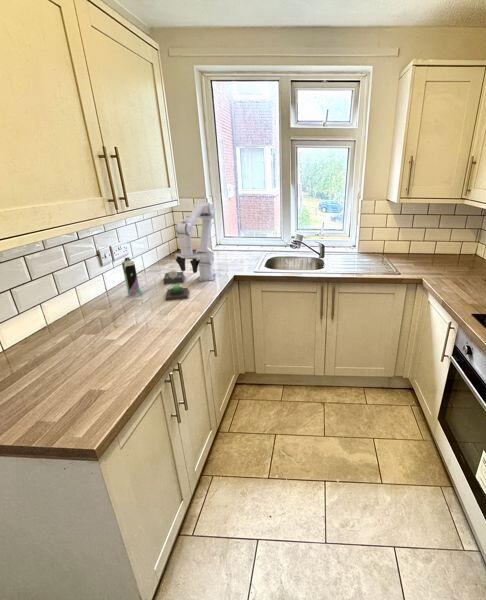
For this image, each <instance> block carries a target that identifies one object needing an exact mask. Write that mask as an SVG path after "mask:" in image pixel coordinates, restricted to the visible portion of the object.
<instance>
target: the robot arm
mask: <svg viewBox="0 0 486 600" xmlns="http://www.w3.org/2000/svg"><path fill="white" fill-rule="evenodd" d="M214 216H215V205H214V204H213V202H211V201H210V202H208V201H207V202H204V201H203V202H202V201H195V202H194V204H193V210H192V211H191V213H190V214H186V216H185V217H184V218H183V219H182V220H181V221H180V222H178V223H177V224H175V229H174V231H175V233H176V235H177V238H178V242H179V248H180V253H179V252H178V253H175V254H174V258H175V262H176V263H177V265H178V266H179V268H180V270H181V272H185V271H186V259H188V260H189V263H190V264H191V265H190V266H191V267H192V273H193V274H196V273H199V276H198V277H199V278H198V280H199V282H205V281H206V282H207V281H214V274H213V269H212V266H213V263H214V261H215V257H214V251H213V250H212V249H211V248H210V246H211V245H210V244H211V233H212V224H213V223H212V222H213V219H214V218H215V217H214ZM198 218H200V219H201V221H202V222H201V223H202V224H201V234H200V245H199V248H197V249H196V250H195V254H194V253H193V252H194V251H193V245H192V244H193V243H192V236H191V235H192V234H193V229H194V226H195V225H196V224H197V219H198ZM198 271H199V272H198Z"/></svg>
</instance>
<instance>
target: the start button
mask: <svg viewBox="0 0 486 600" xmlns="http://www.w3.org/2000/svg"><path fill="white" fill-rule="evenodd" d="M180 287H181V285H173V286H172V287H171V288H173V291H177V290H180Z"/></svg>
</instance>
